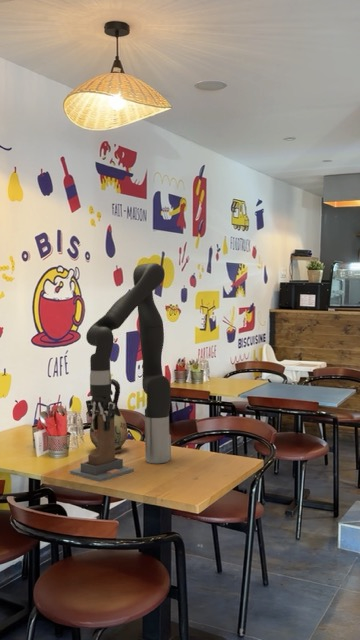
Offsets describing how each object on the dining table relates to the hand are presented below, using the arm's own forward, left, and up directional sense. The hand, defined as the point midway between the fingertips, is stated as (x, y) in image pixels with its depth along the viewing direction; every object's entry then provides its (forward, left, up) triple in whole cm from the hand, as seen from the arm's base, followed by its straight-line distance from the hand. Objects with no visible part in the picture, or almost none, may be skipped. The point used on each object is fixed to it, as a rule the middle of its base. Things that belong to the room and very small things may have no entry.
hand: (101, 430), depth 221 cm
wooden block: (0, 0, -13) cm, 13 cm away
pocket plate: (0, 0, -15) cm, 15 cm away
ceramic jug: (-23, -20, -16) cm, 34 cm away
